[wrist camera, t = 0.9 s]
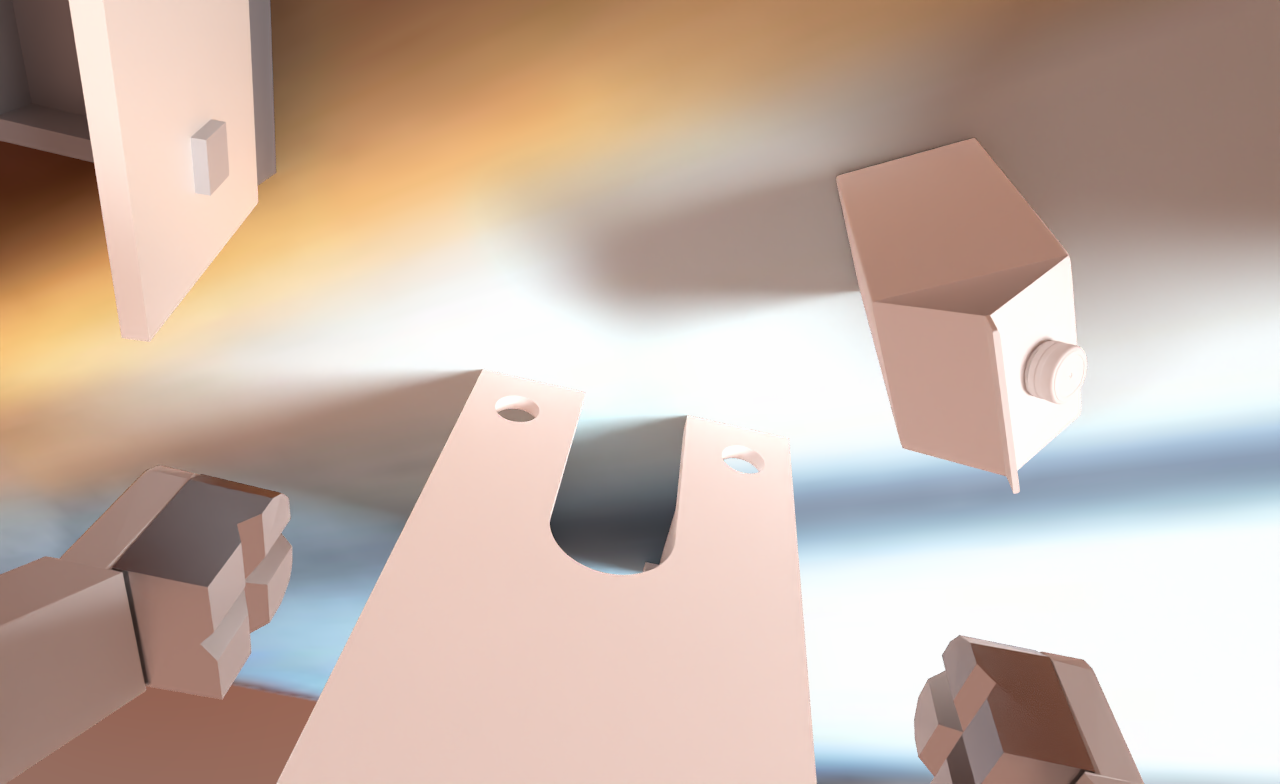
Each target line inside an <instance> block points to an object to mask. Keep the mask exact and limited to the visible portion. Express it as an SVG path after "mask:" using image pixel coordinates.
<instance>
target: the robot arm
mask: <svg viewBox="0 0 1280 784" xmlns="http://www.w3.org/2000/svg"><path fill="white" fill-rule="evenodd" d="M290 519H291V517H290V507H289V498H288V497H287V496H285V495H284V494H282V493H279V492H275V491H271V490H267V489H262V488H258V487H254V486H250V485H245V484H241V483H237V482H233V481H228V480H224V479H220V478H216V477H211V476H207V475H203V474H200V475H199V474H195V473H190V472H186V471H182V470H178V469H174V468H170V467H165V466H161V465H158V466H156V467H153V468H151V469H148V470H146V471H145V472H144V473H143V474H142V475H141V476H140V477H139V478H138V479H137V480H136V481H135V482H134V483H133V484H132V485H131V486H130V487H129V488H128V489H127V490H126V491H125V492H124V493H123V494H122V495H121V496H120V497H119V498H118V499H117V500H116V501H115V502H114V503H113V504H112V505H111V506H110V507H109V508H108V509H107V511H106V512H105V513H104V514H103V515H102V516H101V517H100V518H99V519H98V520H97V521H96V522H95V523H94V524H93V525H92V526H91V527H90V528H89V529H88V530H87V531H86V532H85V533H84V534H83V535H82V536H81V537H80V538H79V539H78V540H77V541H76V542H75V543H74V544H73V545H72V546H71V547H70V548H69V549H68V550H67V551H66V552H65V554H64V555H63V556H62V557H61V558H60V559H58V558H52V557H47V556H46V557H43V558H41V559H38V560H36V561H33V562H31V563H28V564H26V565H23V566H21V567H18V568H16V569H13V570H11V571H8V572H6V573H3V574H1V575H0V784H6V783H7V782H9V781H11V780H12V779H14V778H15V777H17V776H18V775H19V774H21V773H23V772H24V771H26V770H27V769H29V768H30V767H32V766H33V765H35V764H36V763H38V762H39V761H41V760H42V759H44V758H45V757H47V756H48V755H50V754H51V753H53V752H54V751H56V750H57V749H59V748H60V747H62V746H63V745H65V744H66V743H68V742H69V741H71V740H73V739H74V738H76V737H77V736H79V735H80V734H82V733H83V732H84V731H86V730H87V729H89V728H91V727H92V726H94V725H95V724H97V723H98V722H100V721H101V720H103V719H104V718H106V717H107V716H109V715H110V714H112V713H113V712H115V711H116V710H118V709H119V708H121V707H122V706H124V705H125V704H126V703H128V702H130V701H131V700H133V699H134V698H136V697H137V696H139V695H140V694H142V693H143V692H145V691H146V686H148V687H154V688H159V689H165V690H170V691H176V692H182V693H188V694H193V695H199V696H204V697H210V698H216V699H223V697H224V696H225V694H226V693H227V691H228V689H229V688H230V686H231V685H232V683H233V681H234V680H235V678H236V676H237V675H238V673H239V672H240V670H241V668H242V667H243V665H244V664H245V662H246V660H247V659H248V657H249V655H250V654H251V642H250V633H251V632H253V631H255V630H257V629H259V628H260V627H262V626H264V625H266V624H268V623H270V621H271V619H272V618H273V616H274V614H275V613H276V611H277V609H278V607H279V606H280V604H281V602H282V599H283V596H284V594H285V591H286V588H287V585H288V583H289V580H290V574H291V567H292V546H291V544H290V543H289V542H288V541H287V539H286V538H285V537H284V536H283V535H282V533H281V532H282V531H283V529H284V528H285V526H286V525H287V523H288V522H289V520H290ZM942 657H943V661H944V665H945V669H946V671H944V672H942V673H940V674H938V675H936V676H934V677H932V678H930V679H928V680H927V682H926V684H925V686H924V688H923V690H922V692H921V694H920V696H919V697H918V702H917V708H916V713H915V718H914V727H915V741H916V747H917V752H918V757H919V758H920V759H921V761H922V762H923V763H924V764H925V766H926V767H927V768H928V769H929V770H930V772H931V773H932V774H933V775H934V779H933V780H932V782H931V783H930V784H1144V782H1143V780H1142V778H1141V775H1140V773H1139V771H1138V769H1137V767H1136V764H1135V762H1134V760H1133V758H1132V755H1131V753H1130V751H1129V749H1128V747H1127V744H1126V742H1125V740H1124V738H1123V735H1122V733H1121V731H1120V729H1119V727H1118V724H1117V722H1116V720H1115V718H1114V715H1113V713H1112V711H1111V709H1110V707H1109V704H1108V702H1107V700H1106V698H1105V695H1104V693H1103V691H1102V689H1101V687H1100V684H1099V682H1098V680H1097V678H1096V675H1095V673H1094V671H1093V669H1092V668H1091V667H1090V666H1089V665H1088V664H1087V663H1086V662H1085V661H1084V660H1082V659H1077V658H1072V657H1067V656H1061V655H1056V654H1051V653H1046V652H1038V651H1035V650H1031V649H1026V648H1021V647H1016V646H1011V645H1006V644H1001V643H996V642H991V641H986V640H981V639H976V638H971V637H966V636H961V635H959V636H958V637H956V638H955V639H953V640H952V641H950V643H949V645H948V646H947V648H946V650H945V651H944V653H943V655H942Z"/></svg>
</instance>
